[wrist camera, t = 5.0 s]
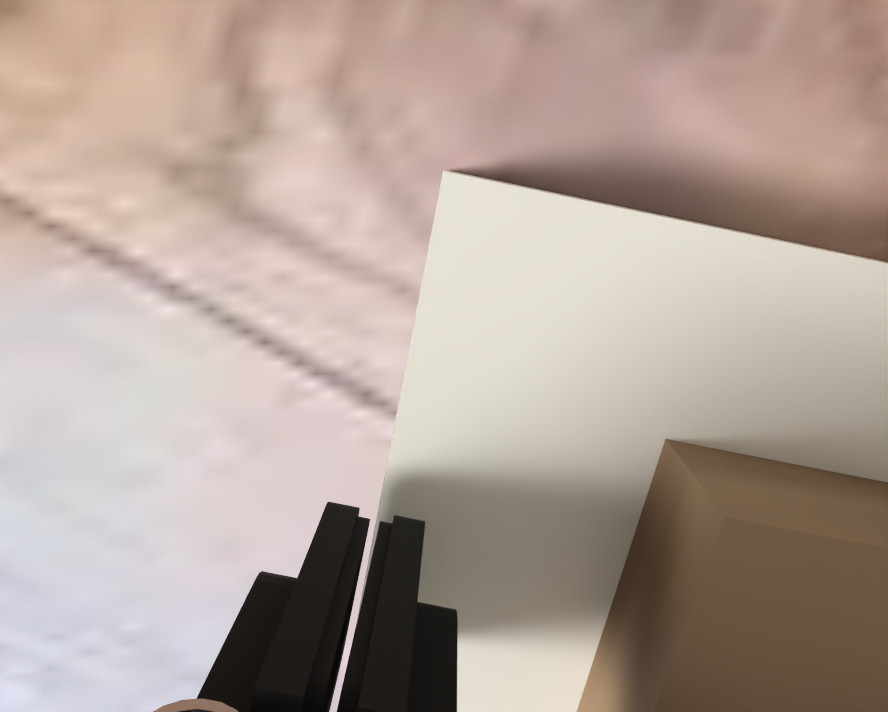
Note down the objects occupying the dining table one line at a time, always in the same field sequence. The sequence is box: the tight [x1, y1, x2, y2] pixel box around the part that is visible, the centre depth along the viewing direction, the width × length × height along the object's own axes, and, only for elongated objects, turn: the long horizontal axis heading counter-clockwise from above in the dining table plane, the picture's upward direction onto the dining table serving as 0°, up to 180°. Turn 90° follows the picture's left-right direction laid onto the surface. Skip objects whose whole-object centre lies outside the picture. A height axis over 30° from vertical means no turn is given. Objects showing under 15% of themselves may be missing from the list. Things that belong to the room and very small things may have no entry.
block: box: [577, 439, 888, 712], centre depth 11 cm, size 7×7×2 cm
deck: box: [355, 170, 888, 712], centre depth 13 cm, size 12×16×4 cm
